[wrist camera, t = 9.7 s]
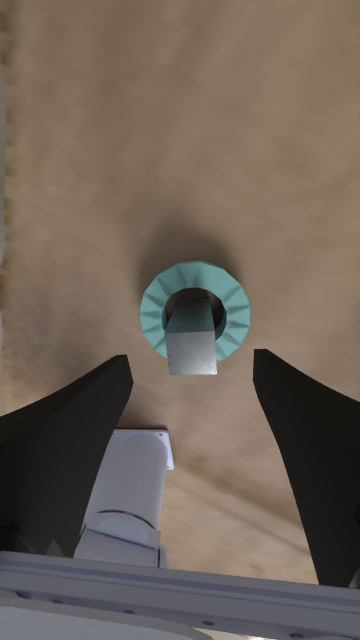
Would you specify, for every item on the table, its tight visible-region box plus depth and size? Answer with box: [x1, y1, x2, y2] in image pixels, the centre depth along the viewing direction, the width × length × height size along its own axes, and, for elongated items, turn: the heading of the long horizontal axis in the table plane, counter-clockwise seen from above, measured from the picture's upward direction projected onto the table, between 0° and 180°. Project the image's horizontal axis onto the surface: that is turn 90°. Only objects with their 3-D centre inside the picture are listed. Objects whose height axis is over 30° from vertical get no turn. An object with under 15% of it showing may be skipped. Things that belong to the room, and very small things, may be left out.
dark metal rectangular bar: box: [164, 298, 217, 375], centre depth 16 cm, size 3×3×8 cm
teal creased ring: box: [139, 260, 251, 362], centre depth 19 cm, size 10×10×2 cm
